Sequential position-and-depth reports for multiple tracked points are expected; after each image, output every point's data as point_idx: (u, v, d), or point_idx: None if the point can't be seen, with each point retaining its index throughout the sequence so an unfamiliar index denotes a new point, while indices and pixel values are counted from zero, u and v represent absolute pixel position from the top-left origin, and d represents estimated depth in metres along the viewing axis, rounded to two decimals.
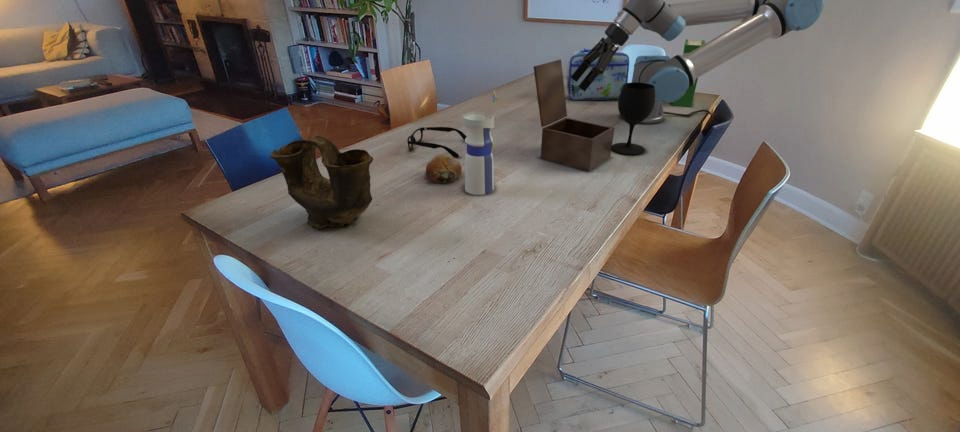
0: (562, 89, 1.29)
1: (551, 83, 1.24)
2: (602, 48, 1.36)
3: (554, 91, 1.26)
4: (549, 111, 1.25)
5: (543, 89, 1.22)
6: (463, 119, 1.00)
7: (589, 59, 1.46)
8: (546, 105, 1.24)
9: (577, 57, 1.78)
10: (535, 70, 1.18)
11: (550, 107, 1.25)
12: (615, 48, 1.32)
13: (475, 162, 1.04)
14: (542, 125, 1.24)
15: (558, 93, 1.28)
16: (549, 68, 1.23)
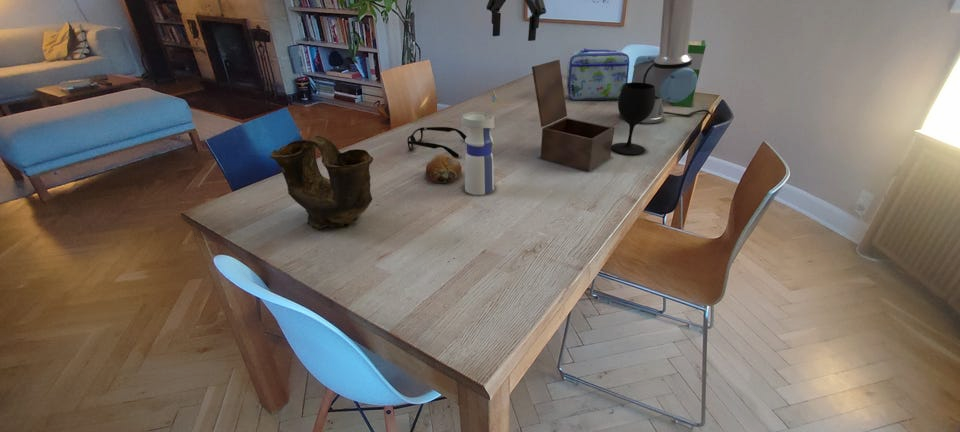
0: (561, 89, 1.29)
1: (550, 83, 1.24)
2: None
3: (554, 91, 1.26)
4: (549, 111, 1.25)
5: (542, 89, 1.22)
6: (463, 119, 1.00)
7: (499, 6, 1.27)
8: (545, 105, 1.24)
9: (577, 57, 1.78)
10: (533, 70, 1.18)
11: (550, 107, 1.25)
12: None
13: (475, 162, 1.04)
14: (542, 125, 1.24)
15: (557, 93, 1.28)
16: (548, 68, 1.23)
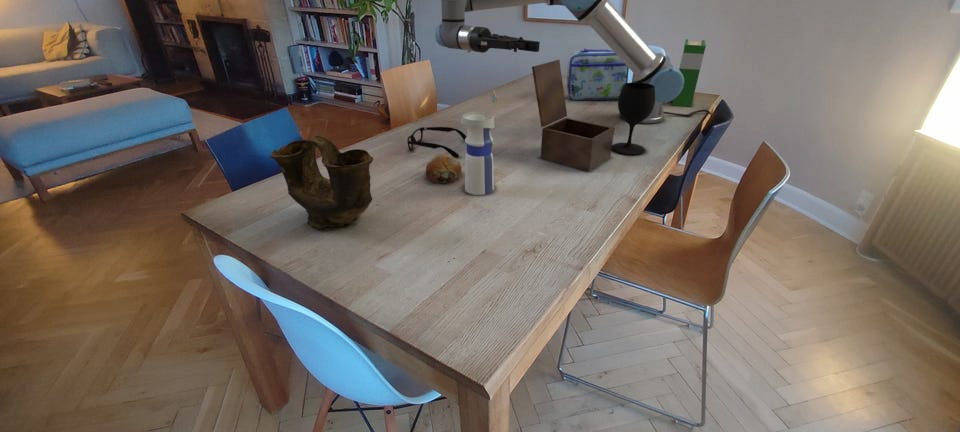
0: (561, 89, 1.29)
1: (550, 83, 1.24)
2: None
3: (554, 91, 1.26)
4: (549, 111, 1.25)
5: (542, 89, 1.22)
6: (463, 119, 1.00)
7: None
8: (545, 105, 1.24)
9: (577, 57, 1.78)
10: (533, 70, 1.18)
11: (550, 107, 1.25)
12: (483, 42, 1.27)
13: (475, 162, 1.04)
14: (542, 125, 1.24)
15: (557, 93, 1.28)
16: (548, 68, 1.23)
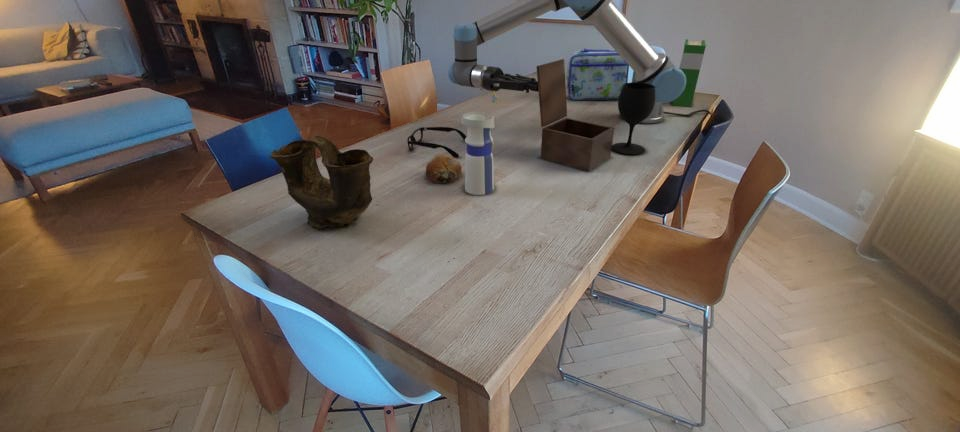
0: (563, 89, 1.29)
1: (553, 83, 1.24)
2: None
3: (556, 91, 1.26)
4: (550, 111, 1.25)
5: (545, 89, 1.21)
6: (463, 119, 1.00)
7: None
8: (547, 105, 1.23)
9: (577, 57, 1.78)
10: (538, 70, 1.17)
11: (551, 107, 1.25)
12: (496, 83, 1.30)
13: (475, 162, 1.04)
14: (542, 125, 1.24)
15: (559, 93, 1.27)
16: (552, 68, 1.22)
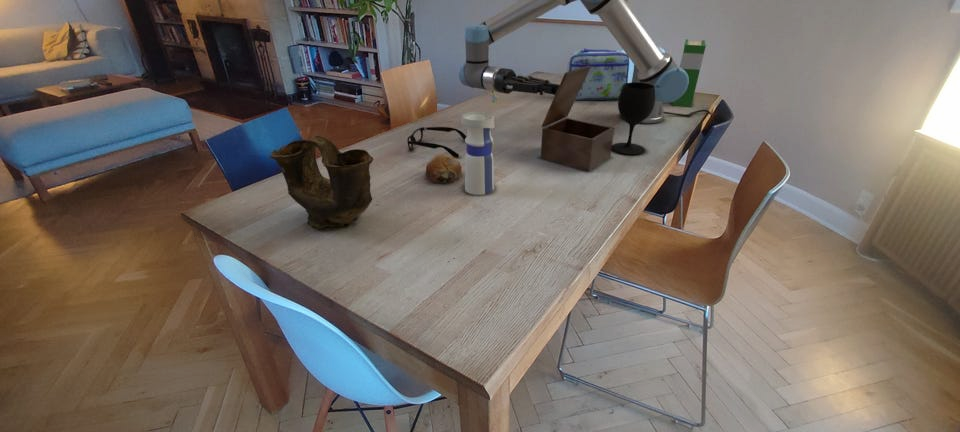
0: (576, 93, 1.27)
1: (571, 89, 1.21)
2: None
3: (570, 95, 1.23)
4: (555, 114, 1.24)
5: (561, 95, 1.18)
6: (463, 119, 1.00)
7: None
8: (556, 109, 1.22)
9: (577, 57, 1.78)
10: (564, 77, 1.13)
11: (558, 110, 1.24)
12: (509, 86, 1.27)
13: (475, 162, 1.04)
14: (543, 125, 1.24)
15: (571, 97, 1.25)
16: (577, 75, 1.18)
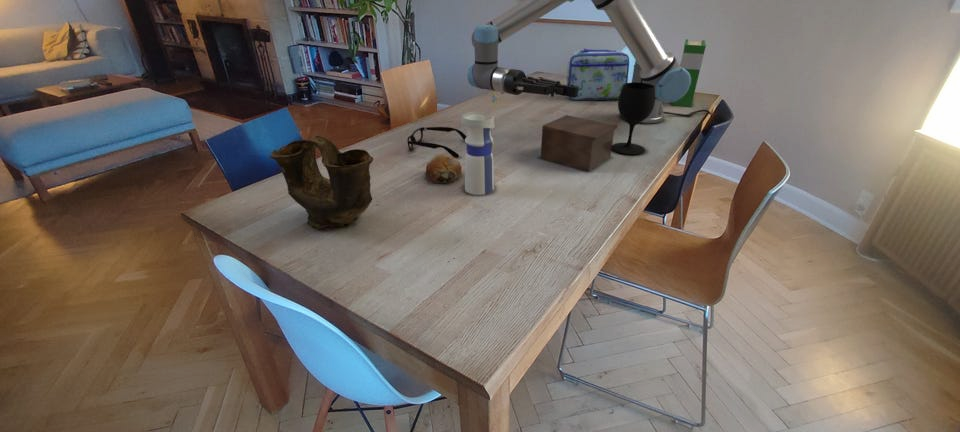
0: None
1: None
2: None
3: None
4: None
5: None
6: (463, 119, 1.00)
7: None
8: None
9: (577, 57, 1.78)
10: (592, 139, 1.15)
11: None
12: (520, 87, 1.25)
13: (475, 162, 1.04)
14: (543, 127, 1.24)
15: None
16: None
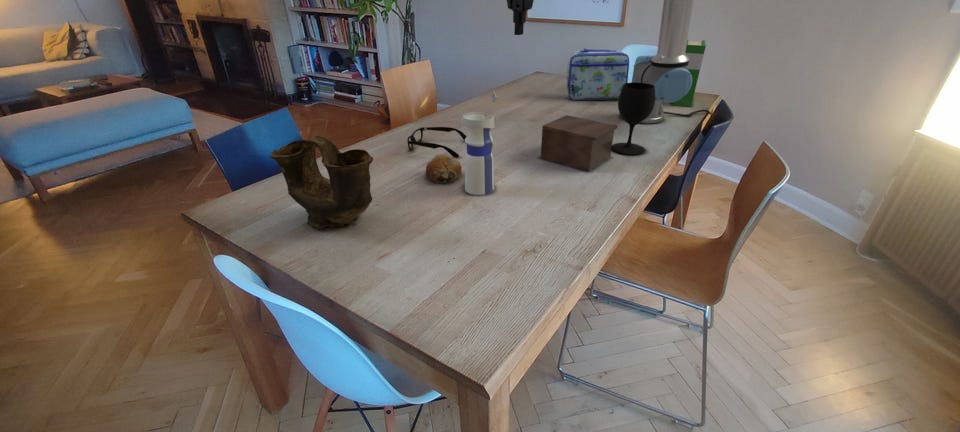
0: None
1: None
2: None
3: None
4: None
5: None
6: (463, 119, 1.00)
7: (517, 1, 1.29)
8: None
9: (577, 57, 1.78)
10: (592, 139, 1.15)
11: None
12: None
13: (475, 162, 1.04)
14: (543, 127, 1.24)
15: None
16: None
